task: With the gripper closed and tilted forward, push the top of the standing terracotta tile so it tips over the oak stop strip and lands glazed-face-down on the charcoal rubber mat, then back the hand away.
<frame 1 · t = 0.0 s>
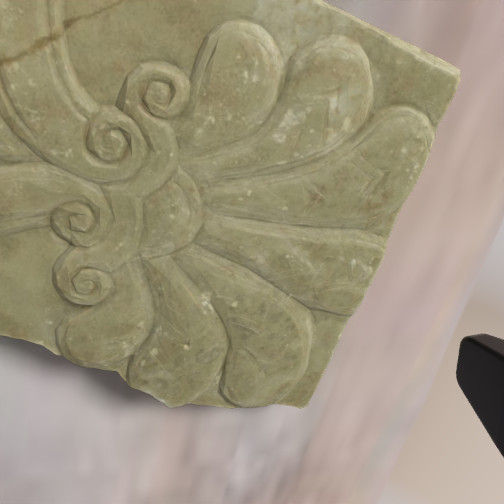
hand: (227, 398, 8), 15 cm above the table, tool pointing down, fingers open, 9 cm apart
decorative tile: (172, 191, 22), on the table
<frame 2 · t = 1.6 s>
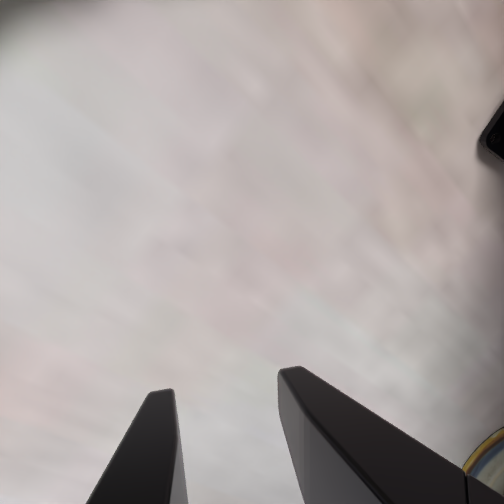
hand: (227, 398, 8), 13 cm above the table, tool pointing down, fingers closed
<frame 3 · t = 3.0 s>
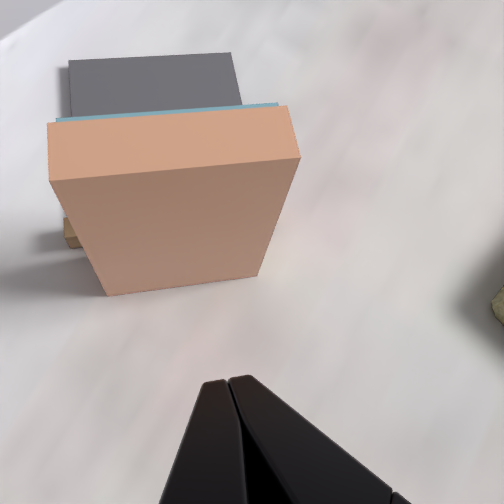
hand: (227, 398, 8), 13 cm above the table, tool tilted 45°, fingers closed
stop strip: (176, 226, 24), on the table
tile: (181, 264, 23), on the table
mat: (162, 134, 26), on the table
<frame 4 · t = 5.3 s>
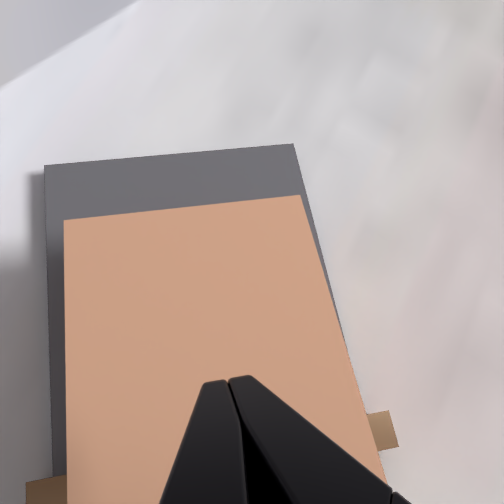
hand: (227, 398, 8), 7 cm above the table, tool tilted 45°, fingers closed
stop strip: (220, 463, 14), on the table
mat: (193, 287, 16), on the table
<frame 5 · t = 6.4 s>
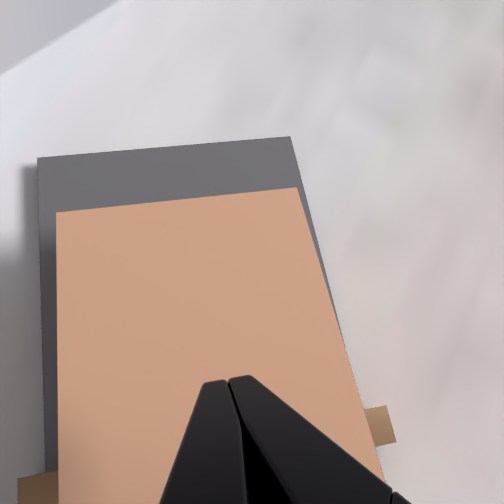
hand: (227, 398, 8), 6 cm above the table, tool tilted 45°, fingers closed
stop strip: (215, 459, 14), on the table
mat: (188, 281, 16), on the table
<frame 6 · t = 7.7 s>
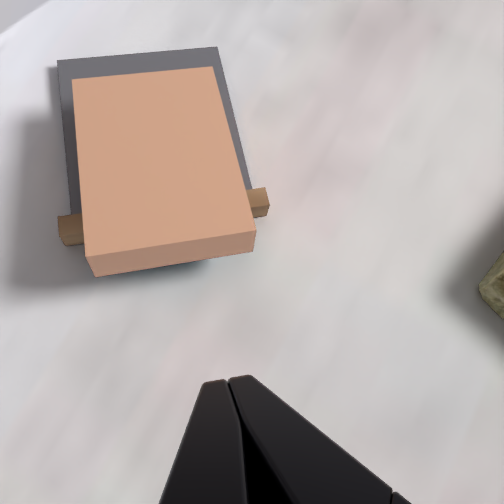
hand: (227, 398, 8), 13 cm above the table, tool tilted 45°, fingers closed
stop strip: (168, 221, 24), on the table
tile: (175, 255, 21), point 3 cm above the table, tilted 96°, touching mat, stop strip
mat: (152, 131, 26), on the table
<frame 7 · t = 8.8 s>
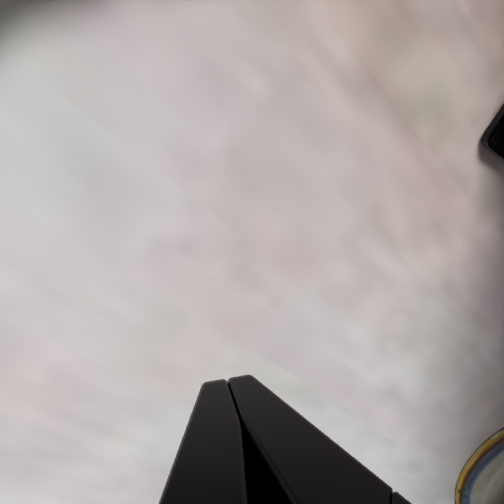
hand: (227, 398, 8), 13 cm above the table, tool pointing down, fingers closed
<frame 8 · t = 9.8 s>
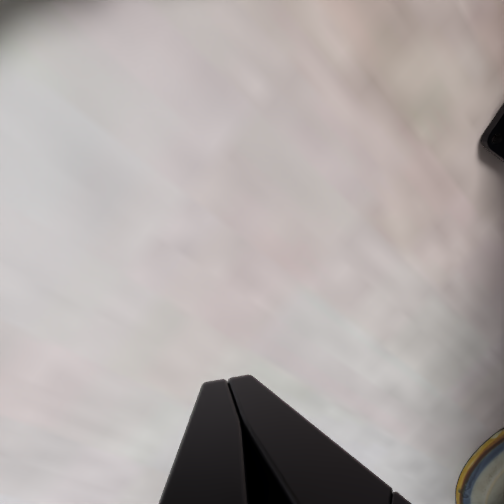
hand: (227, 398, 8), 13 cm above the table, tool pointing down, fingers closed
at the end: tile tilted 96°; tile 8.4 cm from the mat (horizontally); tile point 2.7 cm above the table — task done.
